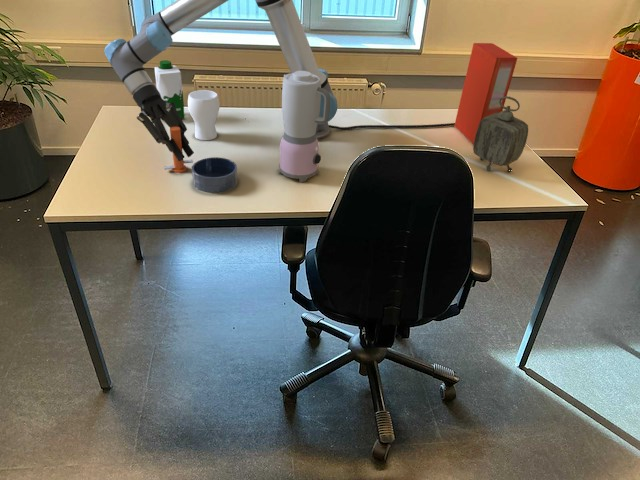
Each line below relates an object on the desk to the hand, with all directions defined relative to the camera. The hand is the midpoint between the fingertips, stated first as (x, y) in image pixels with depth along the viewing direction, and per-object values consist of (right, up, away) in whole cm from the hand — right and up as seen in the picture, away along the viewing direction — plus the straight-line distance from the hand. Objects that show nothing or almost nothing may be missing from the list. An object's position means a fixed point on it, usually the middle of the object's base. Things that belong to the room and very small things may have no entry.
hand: (186, 157), depth 159 cm
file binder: (+99, +15, +42) cm, 109 cm away
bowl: (+9, -8, 0) cm, 12 cm away
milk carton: (-15, +21, +39) cm, 47 cm away
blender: (+35, -4, +8) cm, 36 cm away
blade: (-4, -3, +5) cm, 7 cm away
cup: (0, +12, +27) cm, 30 cm away
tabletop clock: (+99, -1, +19) cm, 101 cm away
